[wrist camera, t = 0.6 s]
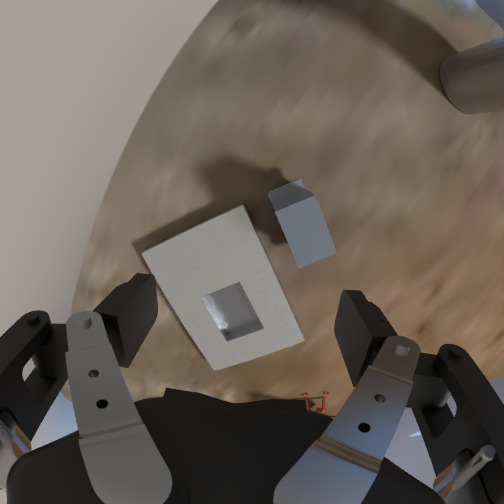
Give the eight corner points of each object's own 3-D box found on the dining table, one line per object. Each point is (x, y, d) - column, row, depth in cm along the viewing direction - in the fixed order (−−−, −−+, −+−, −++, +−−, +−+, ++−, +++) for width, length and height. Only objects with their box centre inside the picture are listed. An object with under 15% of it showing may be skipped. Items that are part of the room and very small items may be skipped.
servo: (297, 177, 32) (310, 182, 25) (322, 240, 34) (340, 263, 27) (266, 190, 33) (269, 200, 25) (293, 253, 35) (303, 279, 27)
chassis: (243, 202, 33) (242, 204, 31) (303, 333, 39) (304, 340, 37) (146, 249, 35) (141, 253, 33) (215, 363, 41) (214, 370, 39)
